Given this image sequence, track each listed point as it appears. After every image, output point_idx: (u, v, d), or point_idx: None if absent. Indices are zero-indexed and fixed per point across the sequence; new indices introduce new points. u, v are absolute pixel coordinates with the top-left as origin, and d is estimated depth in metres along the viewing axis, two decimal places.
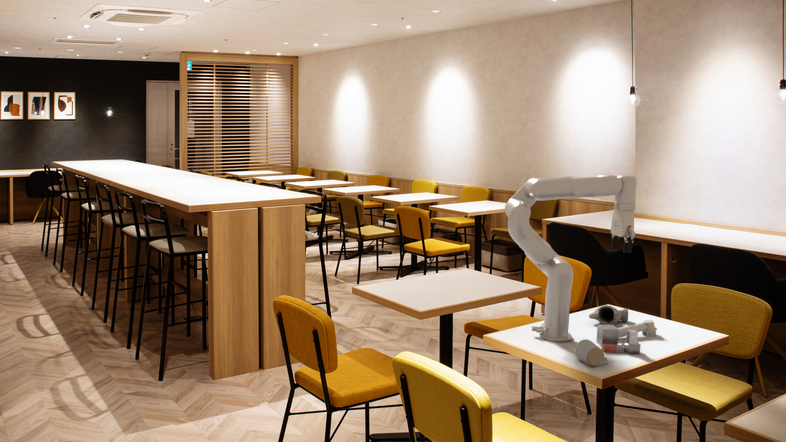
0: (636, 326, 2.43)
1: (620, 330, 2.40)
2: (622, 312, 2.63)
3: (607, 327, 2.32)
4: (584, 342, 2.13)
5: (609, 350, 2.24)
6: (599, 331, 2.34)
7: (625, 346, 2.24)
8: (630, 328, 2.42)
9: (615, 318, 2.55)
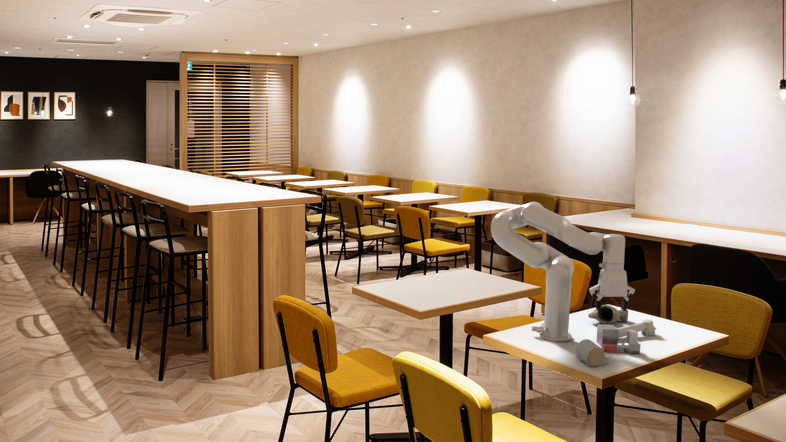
0: (635, 326, 2.43)
1: (620, 330, 2.40)
2: (622, 312, 2.63)
3: (607, 327, 2.32)
4: (585, 342, 2.13)
5: (609, 350, 2.24)
6: (599, 331, 2.34)
7: (625, 346, 2.24)
8: (630, 328, 2.42)
9: (614, 318, 2.56)
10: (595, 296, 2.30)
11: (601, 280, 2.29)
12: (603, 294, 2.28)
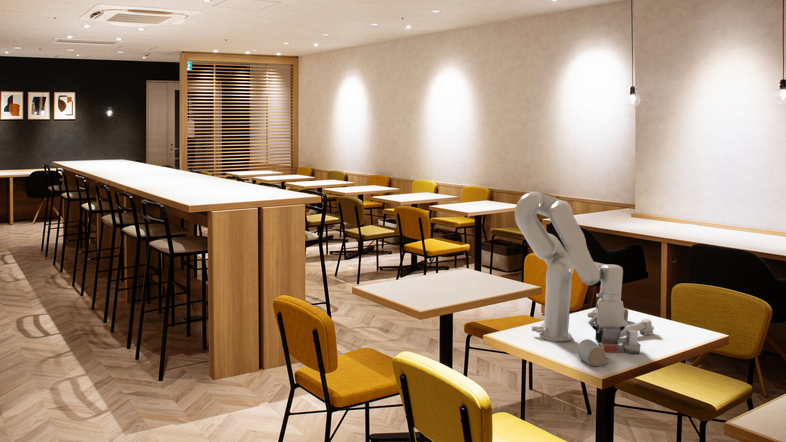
0: (635, 326, 2.44)
1: None
2: None
3: (607, 327, 2.32)
4: (586, 342, 2.13)
5: (609, 350, 2.24)
6: None
7: (625, 346, 2.24)
8: (629, 328, 2.42)
9: None
10: (595, 328, 2.32)
11: (598, 310, 2.31)
12: (600, 324, 2.30)
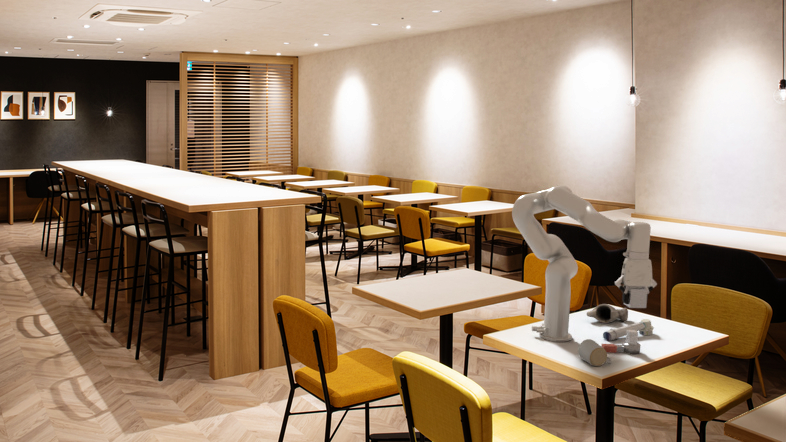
0: (634, 326, 2.44)
1: (619, 330, 2.40)
2: (621, 311, 2.65)
3: (635, 287, 2.22)
4: (587, 342, 2.13)
5: (609, 350, 2.24)
6: None
7: (625, 346, 2.24)
8: (629, 328, 2.42)
9: (612, 317, 2.58)
10: (622, 289, 2.22)
11: (625, 269, 2.21)
12: (627, 284, 2.20)
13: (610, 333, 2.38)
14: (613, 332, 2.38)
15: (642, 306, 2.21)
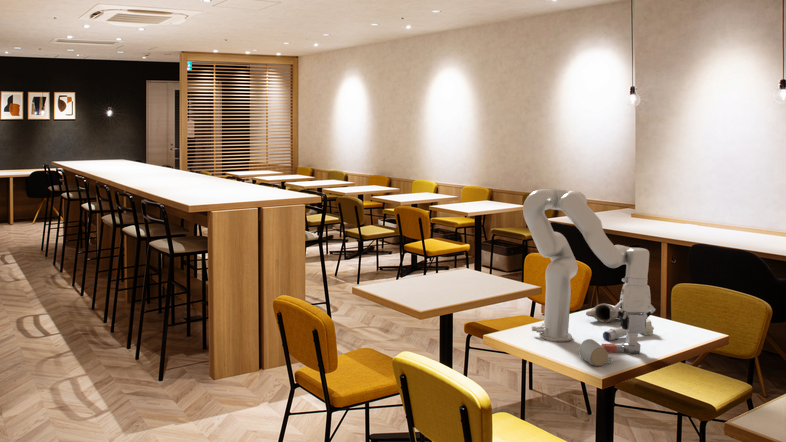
0: None
1: (619, 330, 2.40)
2: (621, 311, 2.65)
3: (633, 313, 2.23)
4: (588, 342, 2.13)
5: (609, 350, 2.24)
6: None
7: (625, 346, 2.24)
8: None
9: (611, 316, 2.58)
10: (621, 314, 2.23)
11: (624, 295, 2.22)
12: (625, 310, 2.21)
13: (610, 333, 2.38)
14: (613, 332, 2.38)
15: (640, 332, 2.22)
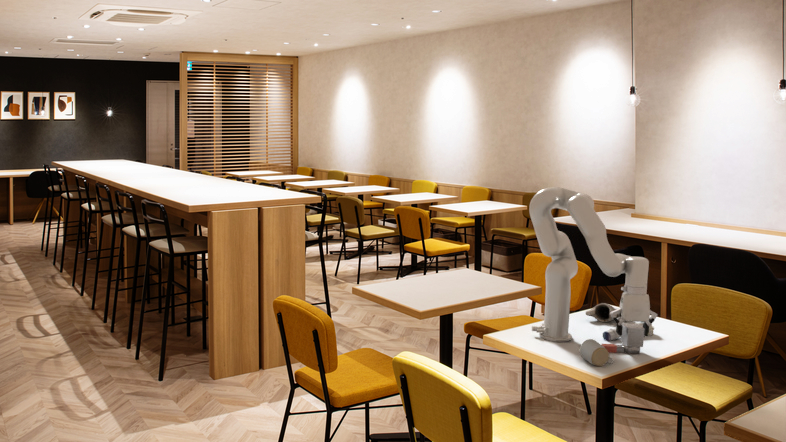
0: None
1: None
2: None
3: (632, 326, 2.24)
4: (589, 342, 2.13)
5: (609, 350, 2.24)
6: (623, 330, 2.26)
7: (625, 346, 2.24)
8: None
9: (610, 316, 2.59)
10: (616, 320, 2.24)
11: (623, 304, 2.22)
12: (625, 318, 2.22)
13: (609, 333, 2.38)
14: (613, 332, 2.38)
15: (639, 345, 2.23)
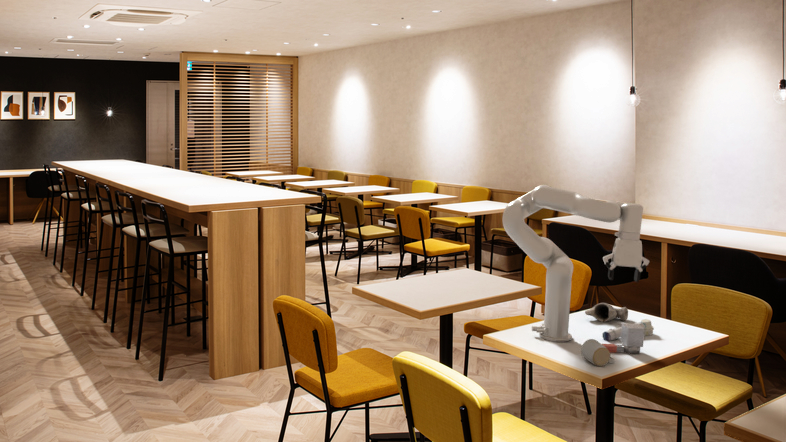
0: None
1: (619, 330, 2.40)
2: (620, 310, 2.66)
3: (632, 326, 2.24)
4: (590, 342, 2.14)
5: (609, 350, 2.24)
6: (623, 330, 2.26)
7: (625, 346, 2.24)
8: None
9: (609, 315, 2.59)
10: (608, 265, 2.28)
11: (615, 249, 2.26)
12: (616, 263, 2.26)
13: (609, 333, 2.38)
14: (612, 332, 2.38)
15: (639, 345, 2.23)
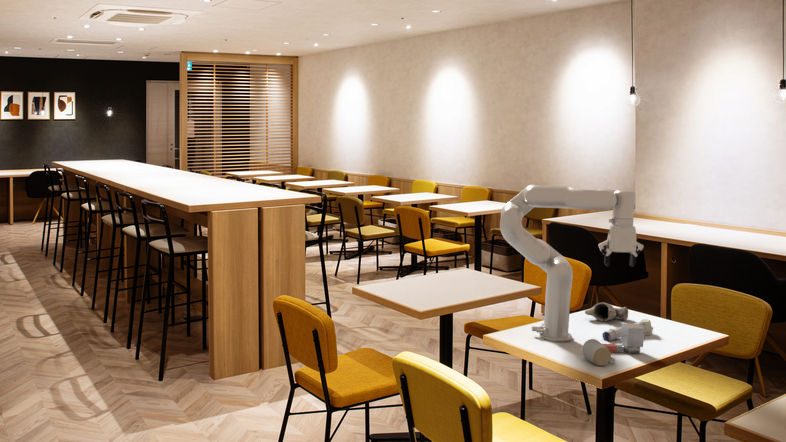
0: None
1: (619, 330, 2.40)
2: (620, 310, 2.66)
3: (632, 326, 2.24)
4: (591, 342, 2.14)
5: None
6: (623, 330, 2.26)
7: (625, 346, 2.24)
8: None
9: (609, 315, 2.60)
10: (604, 251, 2.32)
11: (610, 235, 2.30)
12: (612, 249, 2.30)
13: (609, 333, 2.37)
14: (612, 332, 2.38)
15: (639, 345, 2.23)
